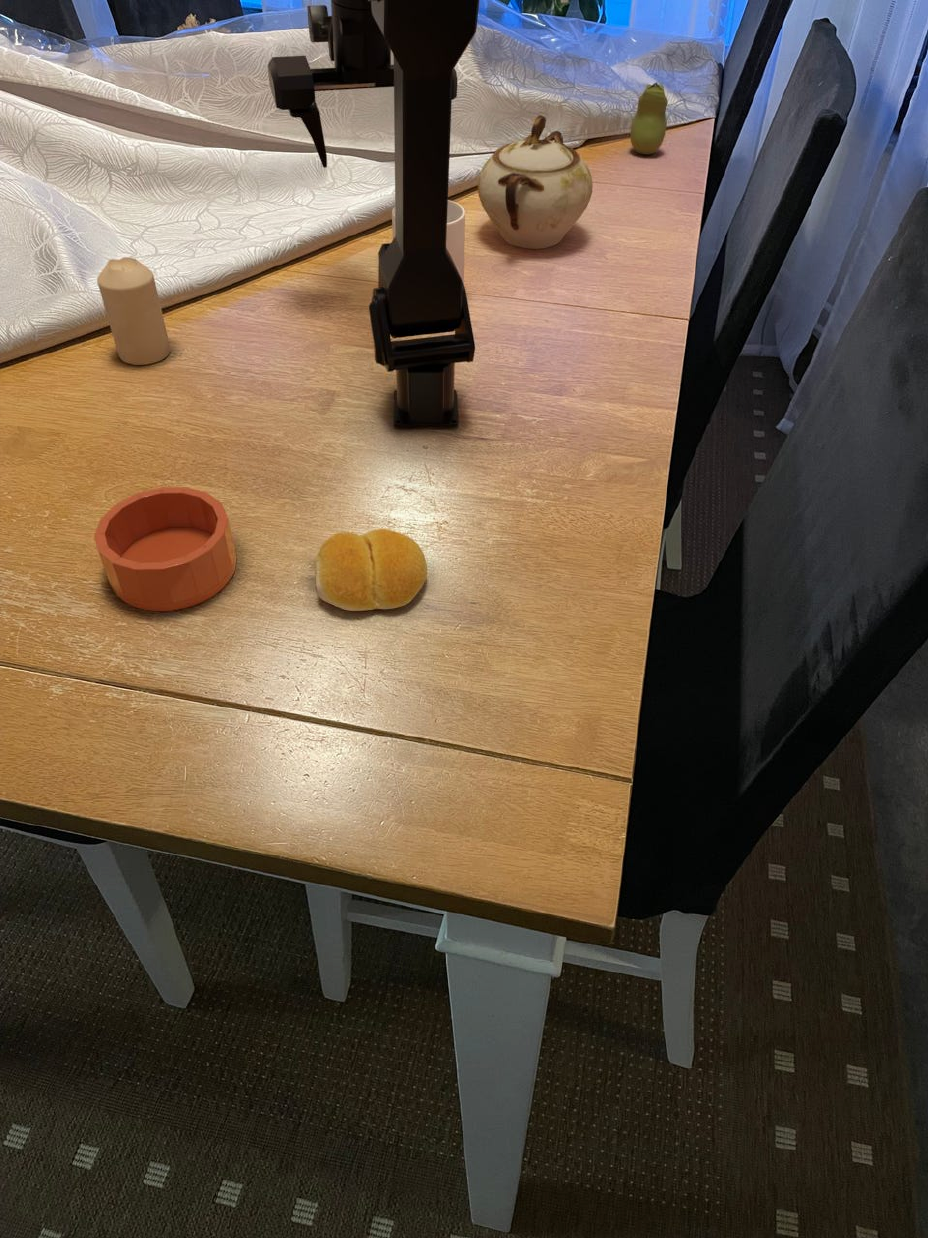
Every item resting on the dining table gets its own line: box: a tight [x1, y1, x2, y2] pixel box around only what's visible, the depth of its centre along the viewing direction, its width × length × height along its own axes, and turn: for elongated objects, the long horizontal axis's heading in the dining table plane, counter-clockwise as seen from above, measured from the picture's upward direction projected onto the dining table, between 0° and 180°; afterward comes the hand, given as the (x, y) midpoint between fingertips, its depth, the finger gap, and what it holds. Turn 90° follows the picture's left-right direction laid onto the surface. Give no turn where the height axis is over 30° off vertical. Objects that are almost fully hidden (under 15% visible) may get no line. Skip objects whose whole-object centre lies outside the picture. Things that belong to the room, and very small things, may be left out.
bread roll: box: [315, 528, 428, 612], centre depth 70 cm, size 8×9×4 cm
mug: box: [391, 199, 466, 285], centre depth 101 cm, size 12×8×10 cm
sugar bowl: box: [477, 114, 594, 250], centre depth 114 cm, size 20×15×15 cm
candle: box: [96, 256, 171, 366], centre depth 92 cm, size 6×6×10 cm
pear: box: [630, 82, 669, 155], centre depth 140 cm, size 6×5×10 cm
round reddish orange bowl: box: [93, 486, 237, 612], centre depth 70 cm, size 10×10×4 cm
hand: (365, 162), depth 97 cm, fingers open, 9 cm apart
